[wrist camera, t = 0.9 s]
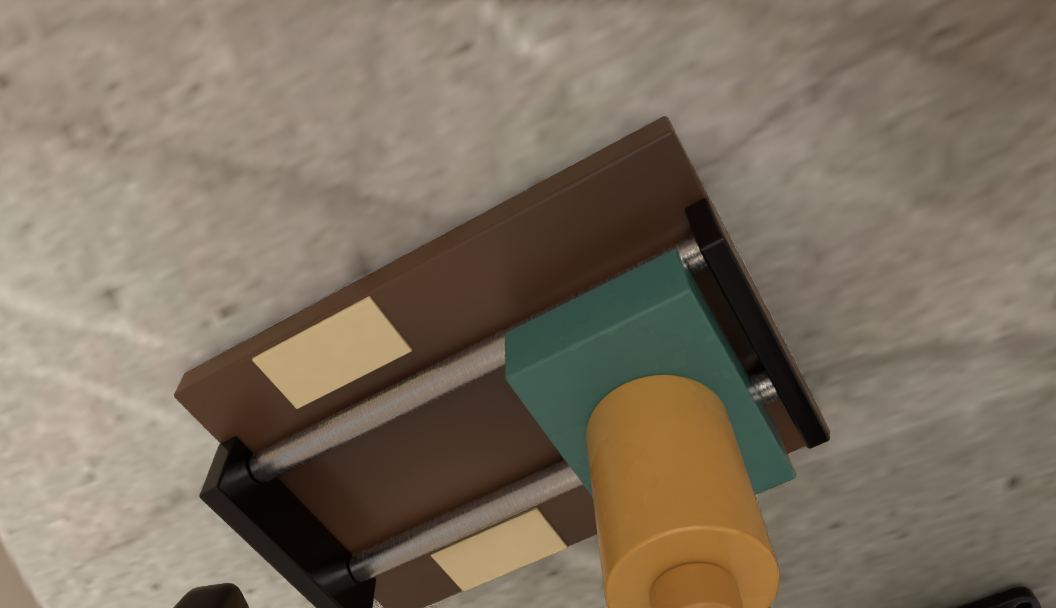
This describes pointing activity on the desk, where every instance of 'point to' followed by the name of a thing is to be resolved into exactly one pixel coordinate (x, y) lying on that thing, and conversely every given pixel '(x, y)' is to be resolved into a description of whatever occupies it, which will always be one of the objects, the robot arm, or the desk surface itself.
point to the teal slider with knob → (657, 438)
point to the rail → (458, 388)
